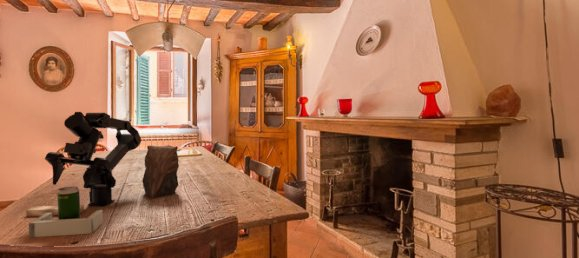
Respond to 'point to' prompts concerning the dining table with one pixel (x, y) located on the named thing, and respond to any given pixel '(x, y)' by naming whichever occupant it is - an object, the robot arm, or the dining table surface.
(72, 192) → the guarana soda can
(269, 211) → the dining table surface
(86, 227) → the beige u-shaped bracket
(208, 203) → the dining table surface
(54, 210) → the slat
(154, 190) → the brown paper bag
